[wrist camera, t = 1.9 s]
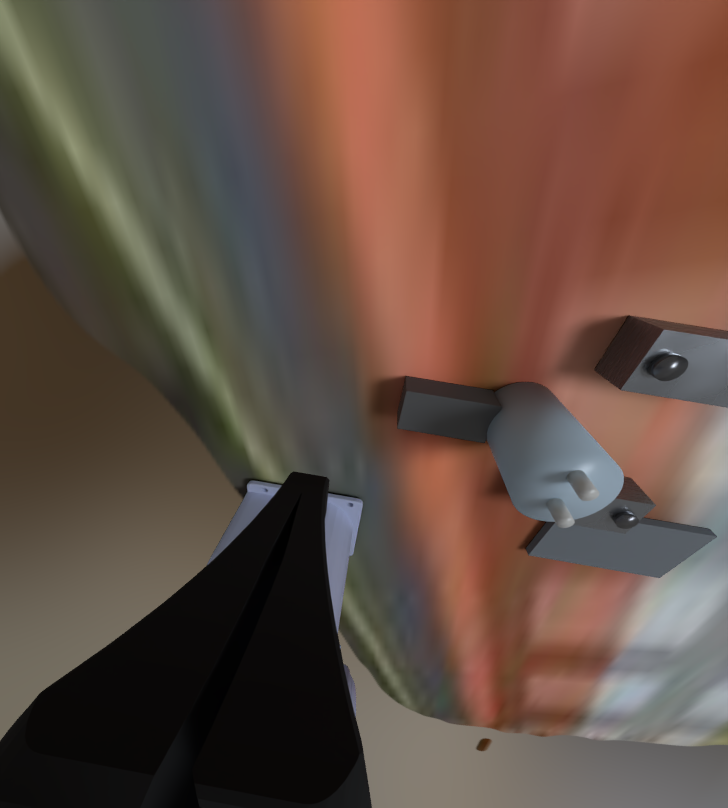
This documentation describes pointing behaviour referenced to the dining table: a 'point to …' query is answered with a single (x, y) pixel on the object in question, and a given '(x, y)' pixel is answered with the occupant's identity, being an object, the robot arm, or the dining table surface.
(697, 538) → the grey flat plate
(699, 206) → the dining table surface
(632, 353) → the channel
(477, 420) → the plug
